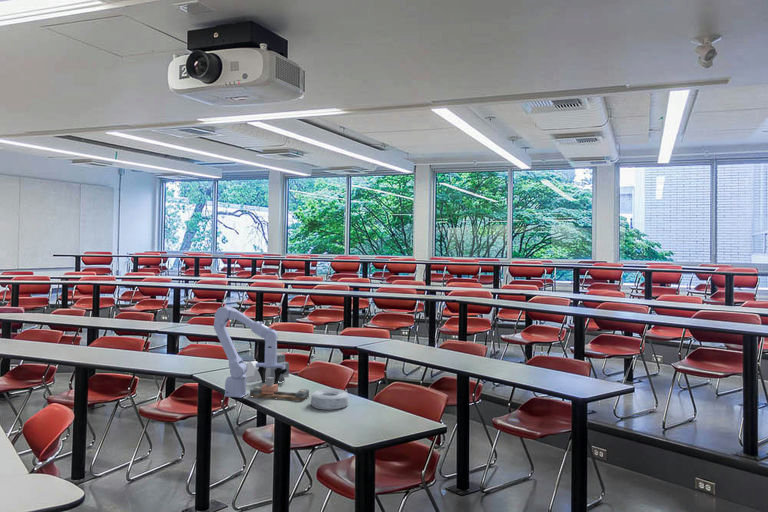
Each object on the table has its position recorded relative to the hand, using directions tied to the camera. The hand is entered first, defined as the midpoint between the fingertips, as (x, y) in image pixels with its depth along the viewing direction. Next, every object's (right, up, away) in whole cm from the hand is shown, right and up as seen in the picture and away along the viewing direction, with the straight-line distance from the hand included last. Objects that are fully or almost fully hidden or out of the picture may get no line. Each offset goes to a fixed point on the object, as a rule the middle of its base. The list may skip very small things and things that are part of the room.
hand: (270, 383), depth 265 cm
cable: (+30, -8, -13) cm, 34 cm away
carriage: (0, -5, 0) cm, 5 cm away
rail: (+5, -7, -1) cm, 8 cm away
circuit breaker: (-2, -7, +28) cm, 29 cm away
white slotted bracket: (-17, -7, +35) cm, 39 cm away
